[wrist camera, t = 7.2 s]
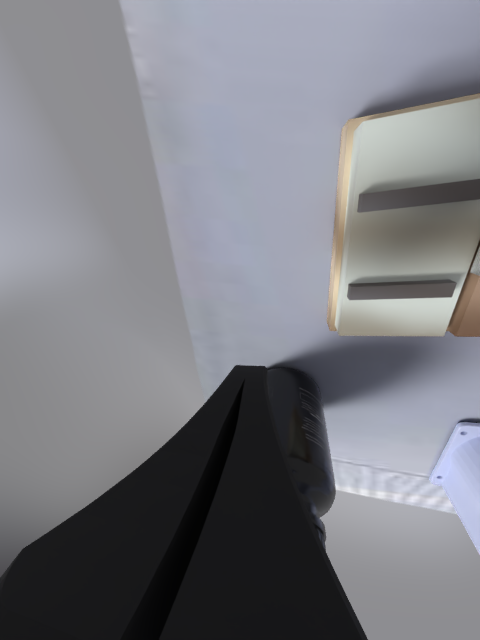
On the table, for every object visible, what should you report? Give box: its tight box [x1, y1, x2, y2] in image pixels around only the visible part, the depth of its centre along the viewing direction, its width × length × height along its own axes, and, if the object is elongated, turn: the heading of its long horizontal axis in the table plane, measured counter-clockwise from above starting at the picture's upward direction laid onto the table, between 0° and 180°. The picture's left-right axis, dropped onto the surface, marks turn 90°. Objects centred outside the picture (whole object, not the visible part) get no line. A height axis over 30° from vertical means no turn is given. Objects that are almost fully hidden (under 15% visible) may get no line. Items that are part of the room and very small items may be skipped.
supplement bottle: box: [268, 368, 336, 551], centre depth 16 cm, size 7×7×12 cm
